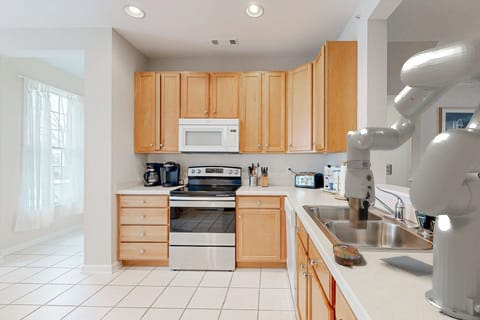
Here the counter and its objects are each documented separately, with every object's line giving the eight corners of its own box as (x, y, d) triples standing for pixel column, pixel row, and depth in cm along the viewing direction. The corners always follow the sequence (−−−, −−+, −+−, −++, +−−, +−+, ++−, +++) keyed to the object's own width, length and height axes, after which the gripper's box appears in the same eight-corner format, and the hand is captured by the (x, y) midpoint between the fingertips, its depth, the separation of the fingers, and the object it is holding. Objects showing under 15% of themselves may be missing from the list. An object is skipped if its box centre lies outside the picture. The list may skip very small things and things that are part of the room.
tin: (363, 260, 88) (335, 255, 90) (362, 269, 88) (334, 265, 90) (355, 245, 102) (331, 241, 104) (355, 253, 102) (331, 250, 104)
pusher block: (366, 229, 94) (368, 188, 95) (357, 229, 93) (358, 188, 93) (358, 226, 98) (359, 187, 99) (349, 226, 97) (350, 187, 97)
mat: (446, 273, 84) (446, 271, 84) (417, 278, 80) (417, 276, 80) (405, 257, 97) (406, 255, 97) (379, 261, 93) (379, 259, 93)
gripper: (386, 166, 89) (387, 222, 89) (350, 165, 105) (350, 214, 105) (367, 166, 87) (368, 224, 87) (333, 166, 103) (334, 215, 102)
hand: (358, 218), depth 96 cm, fingers closed on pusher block, 4 cm apart
